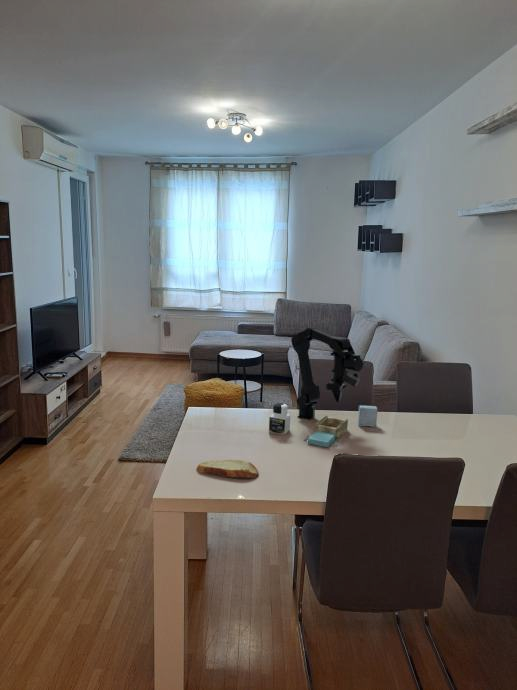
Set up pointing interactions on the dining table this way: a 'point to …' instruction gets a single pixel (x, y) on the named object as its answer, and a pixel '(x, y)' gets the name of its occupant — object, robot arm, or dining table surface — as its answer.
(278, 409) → the medicine bottle
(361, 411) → the medicine box
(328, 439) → the cover plate
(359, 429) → the dining table surface
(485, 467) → the dining table surface
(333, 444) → the grey mat
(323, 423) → the wooden box
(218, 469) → the slice of bread
